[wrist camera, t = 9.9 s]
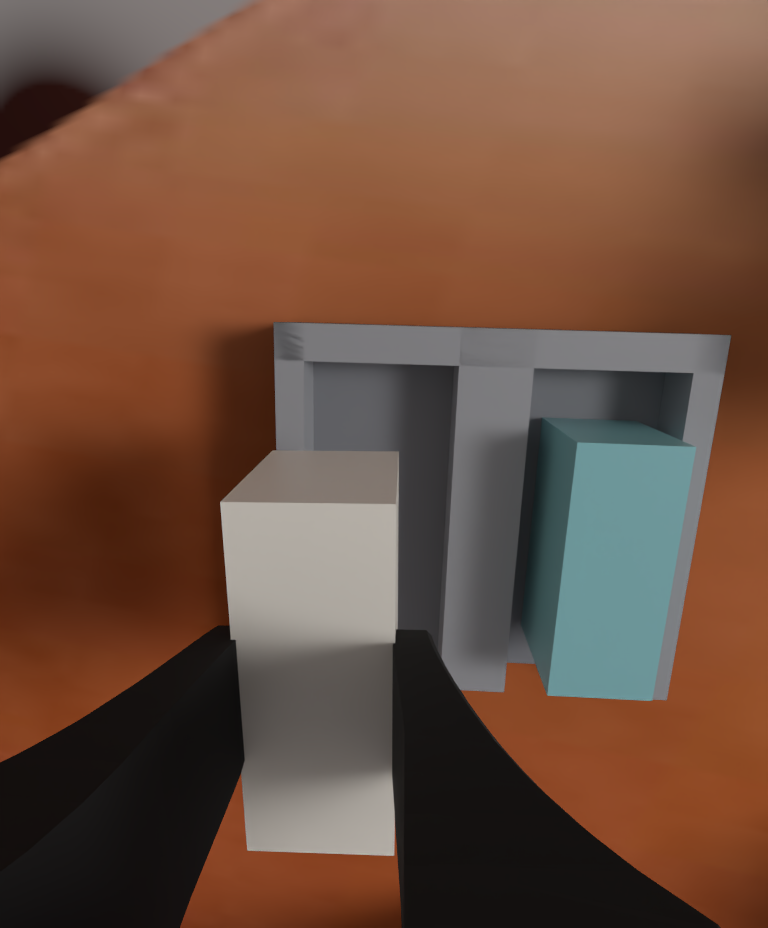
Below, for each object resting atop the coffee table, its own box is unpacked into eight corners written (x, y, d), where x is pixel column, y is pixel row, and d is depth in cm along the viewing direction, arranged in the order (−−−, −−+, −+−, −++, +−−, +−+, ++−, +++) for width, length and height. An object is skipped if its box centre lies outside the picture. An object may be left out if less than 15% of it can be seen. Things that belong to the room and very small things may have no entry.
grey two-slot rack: (635, 654, 20) (666, 700, 17) (295, 639, 20) (281, 681, 18) (686, 333, 17) (731, 335, 14) (291, 322, 17) (273, 322, 15)
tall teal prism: (605, 629, 18) (652, 700, 15) (520, 625, 19) (547, 695, 15) (636, 421, 17) (696, 447, 13) (542, 417, 17) (577, 442, 13)
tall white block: (397, 722, 14) (394, 856, 11) (286, 719, 14) (247, 850, 11) (399, 451, 12) (396, 504, 9) (272, 450, 12) (220, 502, 9)
